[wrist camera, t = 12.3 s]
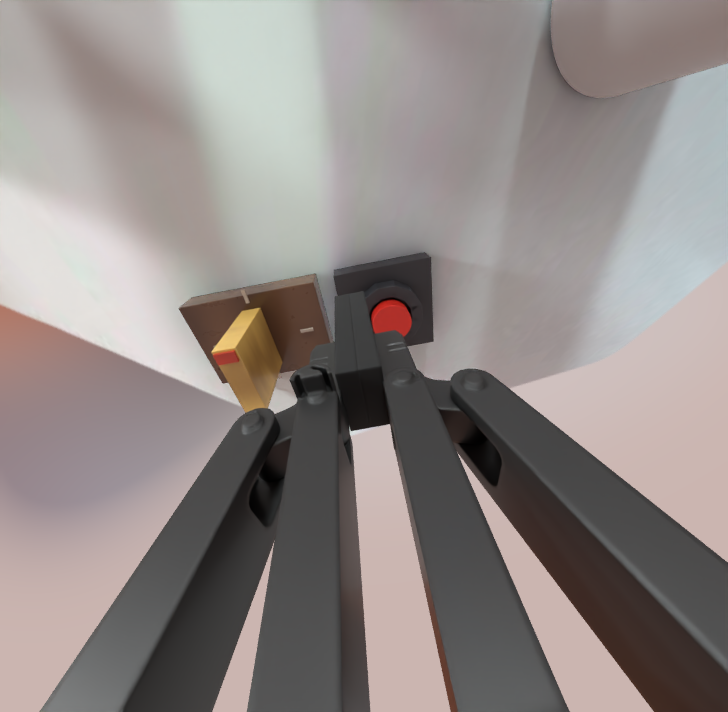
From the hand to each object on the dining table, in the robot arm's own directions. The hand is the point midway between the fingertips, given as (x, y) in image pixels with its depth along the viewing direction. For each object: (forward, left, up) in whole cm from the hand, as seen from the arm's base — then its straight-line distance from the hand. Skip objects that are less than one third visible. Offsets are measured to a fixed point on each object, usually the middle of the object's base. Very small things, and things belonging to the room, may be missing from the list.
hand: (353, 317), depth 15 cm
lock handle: (-11, -7, -14) cm, 19 cm away
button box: (+3, -7, -17) cm, 18 cm away
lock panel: (-11, -7, -17) cm, 21 cm away
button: (+3, -7, -13) cm, 15 cm away
